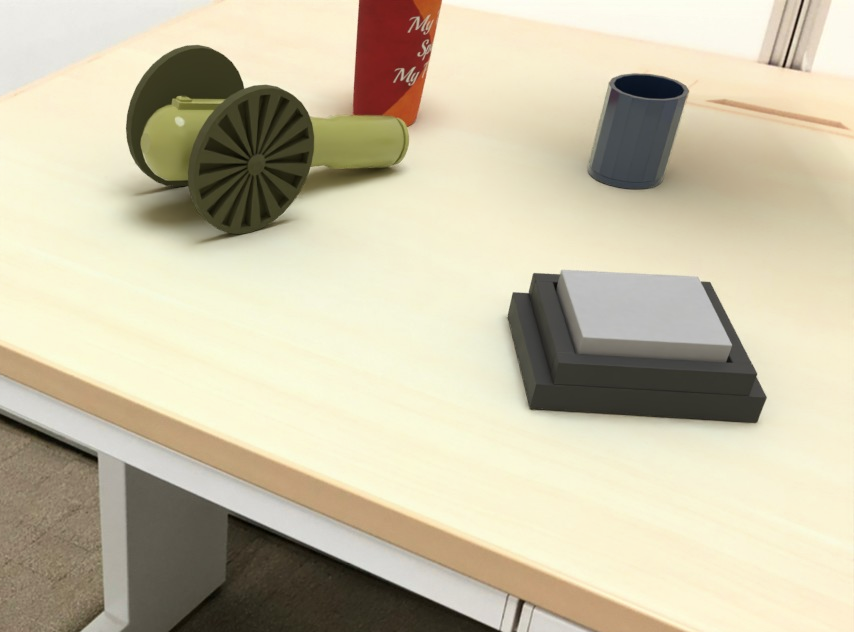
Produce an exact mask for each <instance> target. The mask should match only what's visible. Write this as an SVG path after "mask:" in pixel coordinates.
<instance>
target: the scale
mask: <svg viewBox="0 0 854 632" xmlns="http://www.w3.org/2000/svg"><path fill="white" fill-rule="evenodd" d="M559 277H560V273H546V272H545V273H541V272H533V273H532V276H531V281H530V285H529V288H528V292H519V291H518V292H517V291H516V292H515V291H512V294H511V298H510V302H509V306H508V307H509V308H508V312H507V319H508V324H509V328H510V330H511V335H512V339H513V343H514V348H515V353H516V357H517V360H518V365H519V368H520V374H521V377H522V382H523V385H524V389H525V393H526V397H527V402H528V406H529V410H530V409H531V410H542V411H543V410H545V411H546V410H547V411H560V412H561V411H562V412H575V413H577V412H578V413H592V414H593V413H594V414H610V415H626V416H627V415H628V416H643V417H644V416H645V417H661V418H675V419H678V418H679V419H693V420H694V419H695V420H709V421H726V422H742V423H758V421H759V419H760V416H761V414H762V411H763V408H764V406H765V404H766V401H767V399H768V396H767V395H766V392H765V391H764V389H763V387H762V385H761V383H760V381H759V379H758V372H757V370H756V368H755V366H754V364H753V363H752V361H751V359H750V357H749V355H748V353H747V351H746V349H745V347H744V345H743V344H742V343H743V342H742V341H741V339H740V337H739V335H738V333H737V331H736V329H735V328H734V325H733V323H732V321H731V320H730V318H729V315H728V314H727V312H726V310H725V308H724V306H723V304H722V302H721V300H720V298H719V296H718V294H717V293H716V290H715V289H714V286H713V284H712V283H711V281H703V280H702V281H701V280H700V281H701V283H702V285H703V287H704V289H705V291H706V293H707V295H708V297H709V299H710V301H711V304H712V306H713V308H714V310H715V312H716V314H717V316H718V318H719V320H720V322H721V324H722V326H723V328H724V330H725V332H726V334H727V336H728V338H729V340H730V342H731V344H732V347H731V350H730V353H729V356H728V358H727V361H726V362H708V361H691V360H673V359H655V358H638V357H620V356H602V355H585V354H575V352H574V349H573V346H572V343H571V339H570V336H569V333H568V330H567V326H566V323H565V320H564V317H563V314H562V310H561V307H560V304H559V301H558V297H557V294H556V289H557V285H558V281H559Z"/></svg>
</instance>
